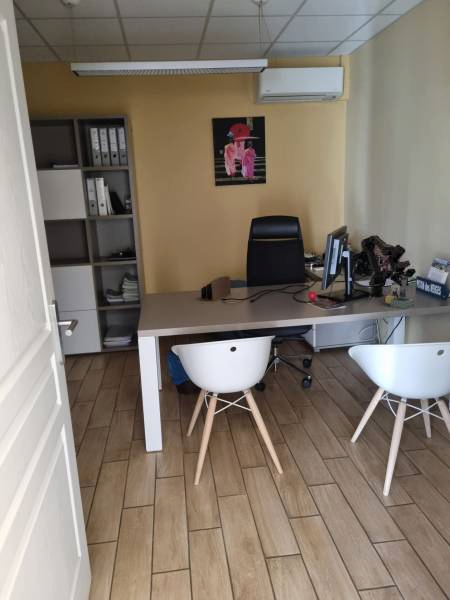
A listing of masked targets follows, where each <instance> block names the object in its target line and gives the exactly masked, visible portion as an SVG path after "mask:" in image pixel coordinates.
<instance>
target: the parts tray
mask: <svg viewBox="0 0 450 600" xmlns="http://www.w3.org/2000/svg"><path fill="white" fill-rule="evenodd" d="M414 300H415V299H413V298H407V297H398V298H395V299H391V304H390V307H394V308H399V309H404V310H405V309H408V308H411V307H414Z"/></svg>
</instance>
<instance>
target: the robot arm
mask: <svg viewBox="0 0 450 600" xmlns="http://www.w3.org/2000/svg"><path fill="white" fill-rule="evenodd" d="M360 246H361V249H362V250H363V251H364V252H365V253H366V255H367V259H368V261H369V265H370V269H371V271H372V272H371V277H370V278H371V279H370V280H369V282H368V285H369V287H371V288H370V289H371V290H370V293H369V296H373V297H382V296H384V295H385V294H384V288H383V287H385V286H386V282H387V280H390V281H392V282H395V283H397V284H396V285H399V286H402V284H401V281H400V276H408V278H407V285H406V287H407V286H408V287H409V285H408V283H409V278H412V277H413V276H414V275H415V274H416V272H417V271H416V269H415V268H408V267H409V266H411V263H410V260H408V259H407V260H405V261H400V259H402V257H403V256H404V255H405V253H406V249H405V248H404V246H401V245H400V244H396V245H392V244H389V243H387V242H385V241H384V240H383V239H382V238H381V237H380V236H379V235H378V234H377V235H375V234H374V235H370V236H369V237H367V238H364V239H362V240H361V241H360ZM376 247H377V248H379V249H380V250H381V251H380V252H381V254H382V255H383V256H384V257H386V259H385V263H389V266H390V267H389V270H388V269H387V270H385V271H384V270H383V271H382V270H381V268H380V265H379V262H378V259H377V255H376V251H375V248H376ZM406 268H407V269H406ZM405 270H406V271H405Z"/></svg>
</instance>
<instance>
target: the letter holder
mask: <svg viewBox="0 0 450 600" xmlns="http://www.w3.org/2000/svg"><path fill="white" fill-rule="evenodd" d="M231 290H232V289H231V277H230V276H229V275H227V276H222V277H218V278H215V279H213V280H212V281H211V282H210V283H207V284H206V285H204V286H203V287H201V288H200V295H201V296H200V300H201V301H208V302H215V301H217V300H221V299H223V297H224V298H227V297H229V296H228V295H230V296H231V294H232V293H231V292H232V291H231ZM226 296H227V297H226Z"/></svg>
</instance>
